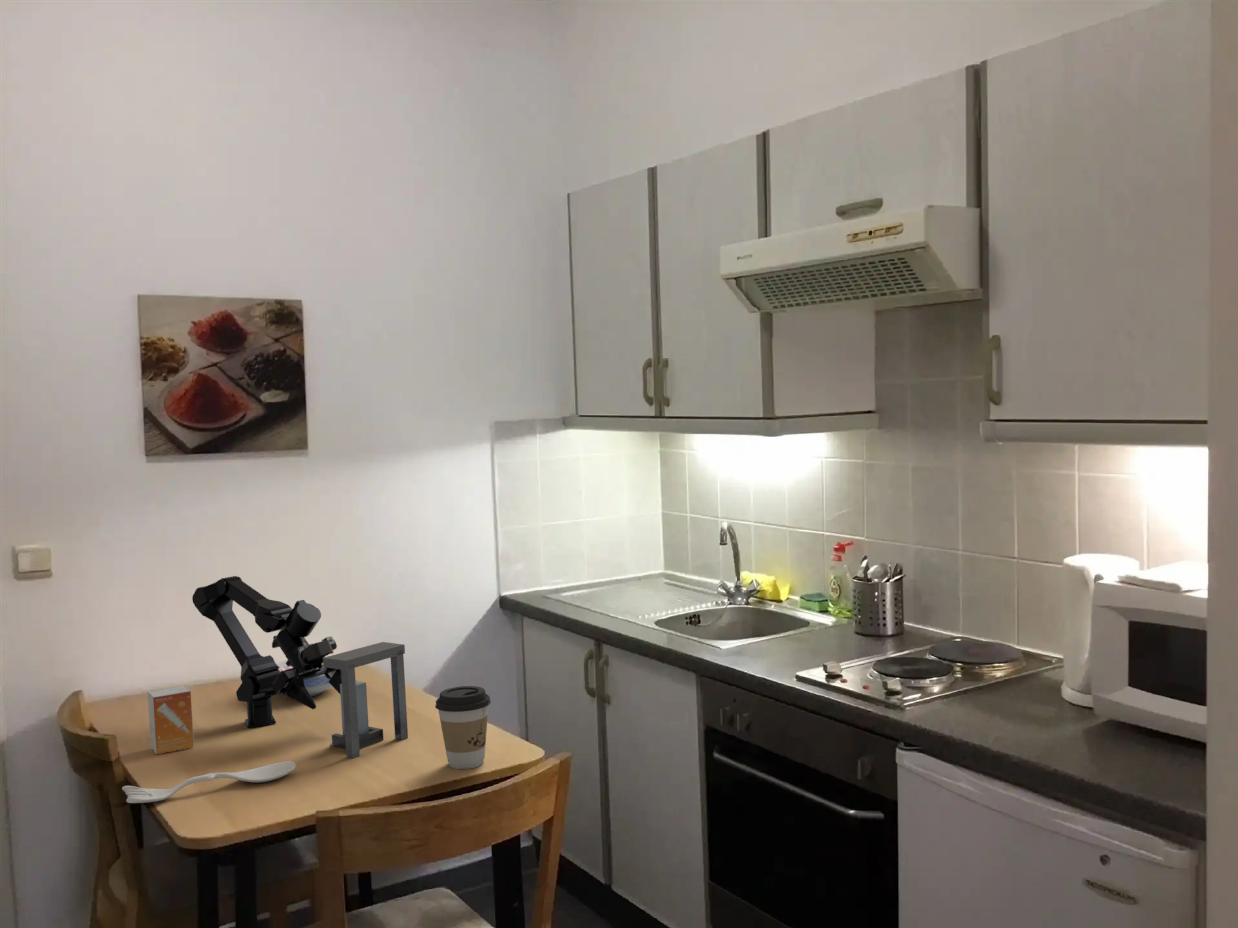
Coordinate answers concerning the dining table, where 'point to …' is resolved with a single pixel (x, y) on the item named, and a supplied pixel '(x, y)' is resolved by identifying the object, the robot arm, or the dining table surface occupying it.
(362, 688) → the blue-grey rectangular block
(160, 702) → the small box
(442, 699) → the coffee cup
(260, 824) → the dining table surface
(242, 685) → the robot arm
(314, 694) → the ramen bowl
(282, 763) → the spoon
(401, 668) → the overhang seat
